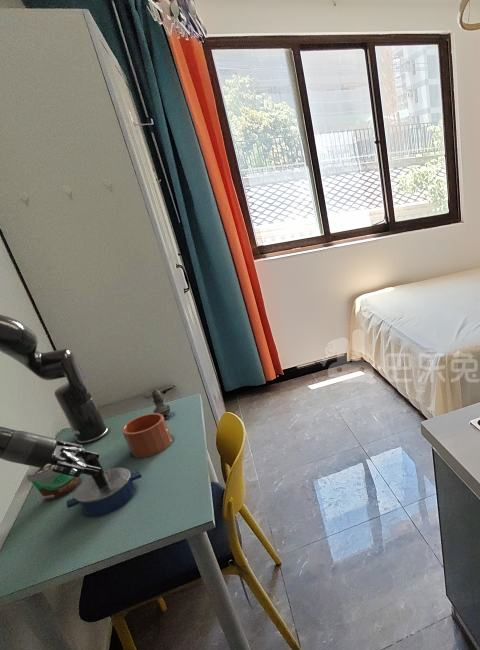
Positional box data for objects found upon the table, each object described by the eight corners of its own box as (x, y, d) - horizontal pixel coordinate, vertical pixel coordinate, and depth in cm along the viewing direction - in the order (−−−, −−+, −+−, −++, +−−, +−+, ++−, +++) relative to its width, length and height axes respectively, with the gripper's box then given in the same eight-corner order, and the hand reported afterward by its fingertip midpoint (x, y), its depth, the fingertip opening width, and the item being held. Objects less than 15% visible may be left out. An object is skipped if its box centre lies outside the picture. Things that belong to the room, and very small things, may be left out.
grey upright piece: (153, 421, 163) (141, 393, 158) (163, 412, 168) (152, 385, 163) (167, 421, 162) (155, 392, 157) (176, 412, 167) (166, 384, 162)
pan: (72, 503, 125) (65, 489, 123) (142, 473, 134) (136, 460, 132) (73, 528, 115) (65, 514, 113) (148, 495, 124) (142, 481, 122)
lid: (75, 486, 125) (59, 457, 120) (128, 464, 131) (115, 436, 127) (76, 512, 114) (59, 481, 110) (134, 487, 121) (120, 457, 117)
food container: (58, 504, 125) (42, 477, 121) (41, 503, 126) (24, 476, 122) (93, 475, 136) (79, 449, 132) (77, 475, 137) (63, 448, 133)
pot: (130, 445, 149) (119, 423, 146) (168, 430, 155) (159, 409, 152) (134, 462, 140) (124, 438, 136) (175, 445, 146) (166, 422, 142)
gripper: (34, 447, 105) (108, 464, 115) (37, 424, 116) (104, 441, 126) (17, 475, 104) (93, 490, 115) (22, 449, 115) (90, 465, 126)
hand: (99, 464), depth 120 cm, fingers open, 8 cm apart
